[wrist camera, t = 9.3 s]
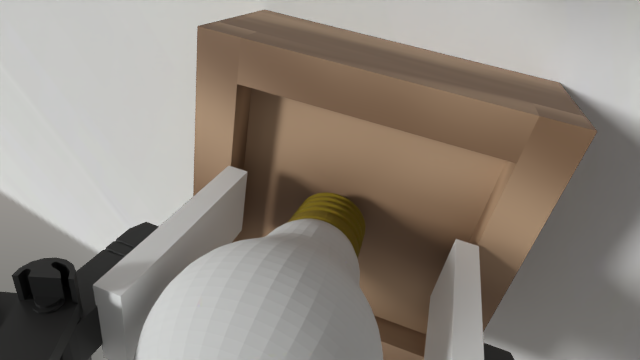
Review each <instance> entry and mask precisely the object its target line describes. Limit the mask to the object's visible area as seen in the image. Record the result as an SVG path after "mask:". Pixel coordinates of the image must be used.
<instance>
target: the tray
mask: <svg viewBox="0 0 640 360" xmlns="http://www.w3.org/2000/svg"><path fill="white" fill-rule="evenodd" d="M596 133H597V130H596V129H595V128H594V126H593V125H592V124H591V122H590V121H589V120H588V119H587V117H586V116H585V115H584V113H583V112H582V111H581V110H580V108H579V107H578V106H577V104H576V103H575V102H574V101H573V99H572V98H571V97H570V96H569V94H568V93H567V92H566V90H565V89H564V88H563V87H562V85H561V84H560V83H558V82H554V81H550V80H546V79H542V78H538V77H534V76H530V75H526V74H522V73H518V72H514V71H510V70H506V69H502V68H498V67H494V66H490V65H486V64H482V63H478V62H474V61H470V60H465V59H461V58H457V57H453V56H449V55H445V54H441V53H437V52H433V51H429V50H425V49H421V48H417V47H413V46H409V45H405V44H401V43H397V42H393V41H389V40H385V39H381V38H377V37H373V36H369V35H365V34H361V33H356V32H352V31H348V30H344V29H340V28H336V27H332V26H328V25H324V24H320V23H316V22H312V21H308V20H304V19H300V18H296V17H292V16H288V15H284V14H280V13H276V12H272V11H268V10H261V11H257V12H253V13H249V14H245V15H241V16H237V17H233V18H229V19H225V20H221V21H217V22H213V23H208V24H204V25H200V26H198V31H197V72H196V113H195V154H194V195H193V196H195V195H196V194H197V193H198V192H199V191H200V190H201V189H203V188H204V187H205V186H206V185H207V184H208V183H209V182H210V181H212V180H213V179H214V178H215V177H216V176H217V175H218V174H220V173H221V172H222V171H223V170H224V169H225V168H226V167H228V166H232V167H235V168H238V169H241V170H244V171H247V182H246V192H245V203H244V213H243V223H242V231H241V232H240V233H239V234H238V235H237V237H236V238H235V239H234V240H233V242H236V241H240V240H246V239H253V238H261V237H265V236H267V235H268V234H269V233H271V232H272V231H273V230H274V229H276V228H278V227H280V226H281V225H283V224H285V223H287V222H288V221H289V220H290V218H291V217H292V216H293V215H294V213H295V212H296V211H297V210H298V208H299V207H300V206H301V205H302V203H303V202H304V201H305V200H306V199H307V198H308V197H310V196H312V195H314V194H317V193H325V192H328V193H335V194H339V195H341V196H344V197H345V198H347V199H349V200H350V201H352V202H353V203H354V204H355V205H356V206H357V207H358V208H359V210H360V211H361V213H362V215H363V217H364V220H365V226H366V229H365V235H364V238H363V242H362V246H361V249H360V253H359V256H358V263H359V269H360V281H359V285H360V289H361V290H362V292H363V294H364V295H365V297H366V299H367V301H368V302H369V304H370V307H371V309H372V312H373V314H374V317H375V319H376V322H377V325H378V329H379V333H380V339H381V344H382V351H383V360H424V354H425V344H426V335H427V325H428V315H429V305H430V296H431V294H432V292H433V289H434V287H435V285H436V283H437V280H438V278H439V276H440V274H441V271H442V269H443V267H444V264H445V262H446V260H447V258H448V255H449V253H450V251H451V249H452V246H453V244H454V242H455V240H456V239H458V240H461V241H464V242H467V243H471V244H474V245H477V246H479V259H480V281H481V302H482V324H483V331H484V330H485V328H486V326H487V324H488V323H489V321H490V319H491V317H492V316H493V314H494V312H495V310H496V309H497V307H498V305H499V303H500V302H501V300H502V298H503V296H504V294H505V293H506V291H507V289H508V287H509V286H510V284H511V282H512V280H513V279H514V277H515V275H516V273H517V272H518V270H519V268H520V266H521V265H522V263H523V261H524V259H525V258H526V256H527V254H528V252H529V251H530V249H531V247H532V245H533V244H534V242H535V240H536V238H537V236H538V235H539V233H540V231H541V229H542V228H543V226H544V224H545V222H546V221H547V219H548V217H549V215H550V214H551V212H552V210H553V208H554V207H555V205H556V203H557V201H558V200H559V198H560V196H561V194H562V193H563V191H564V189H565V187H566V186H567V184H568V182H569V180H570V178H571V177H572V175H573V173H574V171H575V170H576V168H577V166H578V164H579V163H580V161H581V159H582V157H583V156H584V154H585V152H586V150H587V149H588V147H589V145H590V143H591V142H592V140H593V138H594V136H595V135H596ZM233 242H232V243H233Z"/></svg>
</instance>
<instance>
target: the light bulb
mask: <svg viewBox="0 0 640 360" xmlns="http://www.w3.org/2000/svg"><path fill="white" fill-rule="evenodd" d="M365 229H366V226H365V220H364V217H363V215H362V213H361V211H360V210H359V208H358V207H357V206H356V205H355V204H354V203H353V202H352V201H350V200H349V199H347V198H345V197H344V196H341V195H339V194H335V193H328V192H325V193H317V194H314V195H312V196H310V197H308V198H307V199H306V200H305V201H304V202H303V203H302V205H301V206H300V207H299V208H298V210H297V211H296V212H295V213H294V215H293V216H292V217H291V218H290V220H289V221H288V222H287V223H285V224H283V225H281V226H280V227H278V228H276V229H274V230H273V231H272V232H271V233H269V234H268V235H267V236H265V237H261V238H253V239H246V240H240V241H236V242H233V243H230V244H227V245H224V246H221V247H218V248H216V249H214V250H212V251H210V252H209V253H207V254H205V255H203V256H202V257H200V258H198V259H197V260H195V261H194V262H192V263H191V264H190V265H188V266H187V267H186V268H185V269H184V270H183V271H182V272H181V273H179V274H178V275H177V276H176V277H175V278H174V279H173V280H172V281H171V282H170V283H169V285H168V286H167V287H166V288H165V289H164V291H163V292H162V294H161V295H160V296H159V298H158V300H157V301H156V303H155V304H154V306H153V307H152V309H151V311H150V313H149V314H148V316H147V319H146V321H145V323H144V325H143V328H142V331H141V334H140V337H139V340H138V344H137V347H136V351H135V356H134V360H383V351H382V344H381V339H380V333H379V329H378V325H377V322H376V319H375V317H374V314H373V312H372V309H371V307H370V304H369V302H368V301H367V299H366V297H365V295H364V294H363V292H362V290H361V289H360V285H359V281H360V269H359V263H358V256H359V253H360V249H361V246H362V242H363V238H364V235H365Z"/></svg>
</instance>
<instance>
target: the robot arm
mask: <svg viewBox="0 0 640 360" xmlns="http://www.w3.org/2000/svg"><path fill="white" fill-rule="evenodd" d="M246 182H247V171H244V170H241V169H238V168H235V167H232V166H228V167H226V168H225V169H224V170H223V171H222V172H221V173H220V174H218V175H217V176H216V177H215V178H214V179H213V180H212V181H210V182H209V183H208V184H207V185H206V186H205V187H204V188H203V189H201V190H200V191H199V192H198V193H197V194H196V195H195V196H193V197H192V198H191V199H190V200H189V201H188V202H187V203H185V204H184V205H183V206H182V207H181V208H180V209H179V210H177V211H176V212H175V213H174V214H173V215H172V216H171V217H170V218H168V219H167V220H166V221H165V222H164V223H163V224H162V225H160V226H156V225H153V224H150V223H148V222H145V223H142V224H140V225H137V226H135V227H133V228H130V229H128V230H127V231H126V232H125V233H123V234H122V235H121V236H120V237H119V238H117V239H116V241H114V242H112V243H111V244H110V245H109V246H107V247H106V249H105V250H102V251H101V252H100V253H99V254H97V255H96V256H95V257H94V258H93V259H91V260H90V261H89V262H88V263H86V264H85V265H84V266H83V267H81V268H80V269H79V270H78V271H76V270H75V268H74V265H73V264H72V263H70V262H69V261H67V260H64V259H60V258H44V259H40V260H37V261H33V262H30V263H28V264H26V265H24V266H22V267H21V268H19V269H18V270H17V271H16V272H15V273H14V274H13V275H12V277H13V281H14V284H15V288H16V291H17V293H9V292H0V360H92V359H91V355H92V354H93V353H94V352H95V351H96V350H97V349H98V348H99V347H100V346H101V345H102V349H103V356H104V358H105V359H108V360H134V356H135V351H136V347H137V344H138V340H139V337H140V334H141V331H142V328H143V325H144V323H145V321H146V319H147V316H148V314H149V313H150V311H151V309H152V307H153V306H154V304H155V303H156V301H157V300H158V298H159V296H160V295H161V294H162V292H163V291H164V289H165V288H166V287H167V286H168V285H169V283H170V282H171V281H172V280H173V279H174V278H175V277H176V276H177V275H178V274H179V273H181V272H182V271H183V270H184V269H185V268H186V267H187V266H188V265H190V264H191V263H192V262H194V261H195V260H197V259H198V258H200V257H202V256H203V255H205V254H207V253H209V252H210V251H212V250H214V249H216V248H218V247H221V246H224V245H227V244H230V243H232V242H233V240H234V239H235V238H236V237H237V235H238V234H239V233H240V232H241V231H242V223H243V213H244V203H245V192H246ZM424 360H514V358H513V356H512V355H511V353H510V352H508V351H505V350H502V349H499V348H496V347H494V346H491V345H488V344H485V343H483V324H482V302H481V281H480V259H479V246H477V245H474V244H471V243H467V242H464V241H461V240H458V239H456V240H455V242H454V244H453V246H452V249H451V251H450V253H449V255H448V258H447V260H446V262H445V264H444V267H443V269H442V271H441V274H440V276H439V278H438V280H437V283H436V285H435V287H434V289H433V292H432V294H431V296H430V305H429V315H428V325H427V335H426V344H425V354H424Z"/></svg>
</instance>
